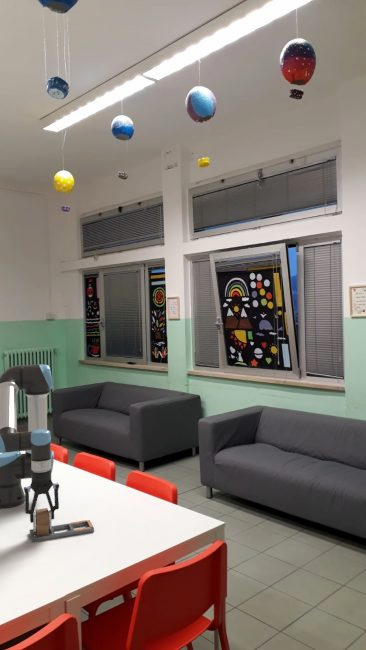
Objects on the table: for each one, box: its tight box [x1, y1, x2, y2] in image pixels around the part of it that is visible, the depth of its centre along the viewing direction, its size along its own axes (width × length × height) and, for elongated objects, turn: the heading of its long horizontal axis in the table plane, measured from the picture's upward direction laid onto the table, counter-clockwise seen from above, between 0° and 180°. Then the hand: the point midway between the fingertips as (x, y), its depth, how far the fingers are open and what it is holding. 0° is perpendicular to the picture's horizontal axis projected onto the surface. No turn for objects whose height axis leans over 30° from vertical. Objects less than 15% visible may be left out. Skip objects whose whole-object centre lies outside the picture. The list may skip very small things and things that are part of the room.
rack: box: [29, 519, 95, 543], centre depth 202 cm, size 9×24×2 cm, turn 112°
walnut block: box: [35, 507, 50, 537], centre depth 199 cm, size 4×4×10 cm
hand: (42, 528), depth 199 cm, fingers open, 5 cm apart
